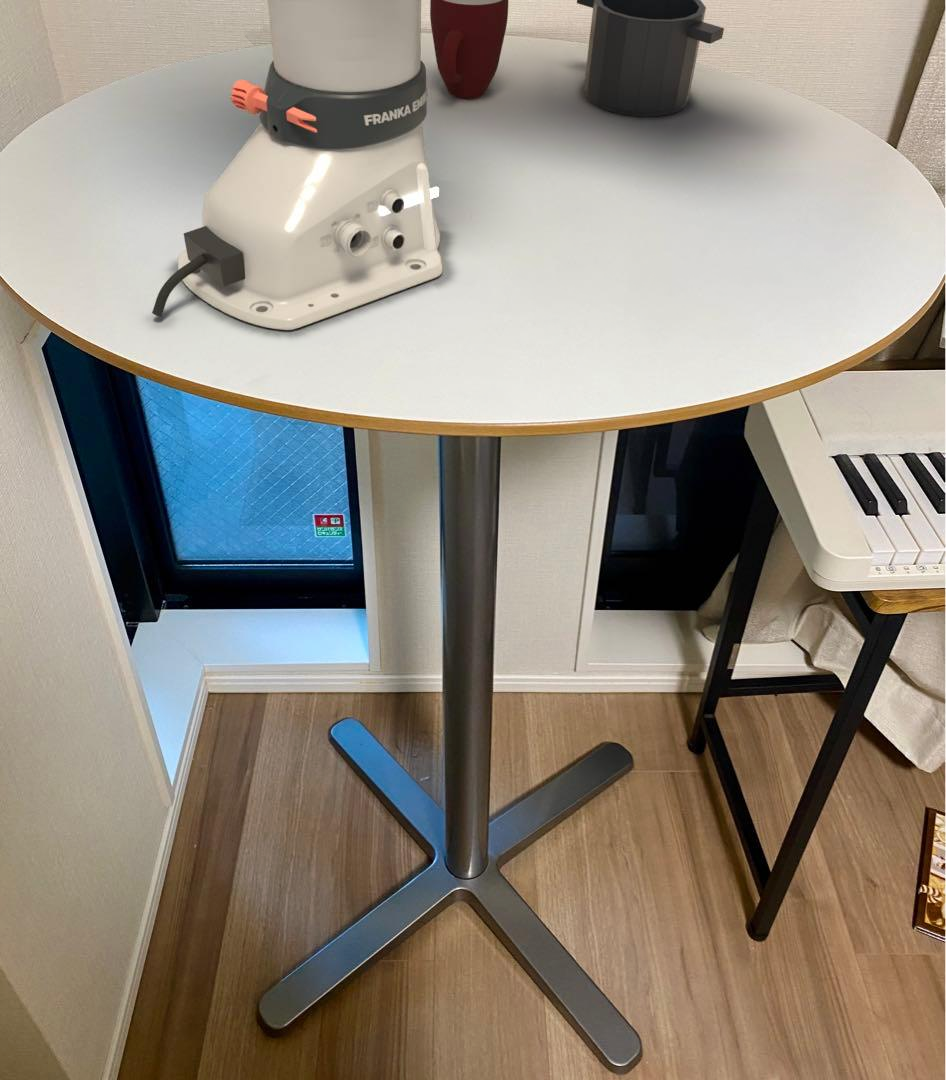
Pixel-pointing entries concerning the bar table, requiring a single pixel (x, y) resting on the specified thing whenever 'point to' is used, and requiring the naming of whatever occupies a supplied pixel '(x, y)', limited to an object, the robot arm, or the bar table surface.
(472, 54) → the mug
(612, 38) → the dark grey pot
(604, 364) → the bar table surface
